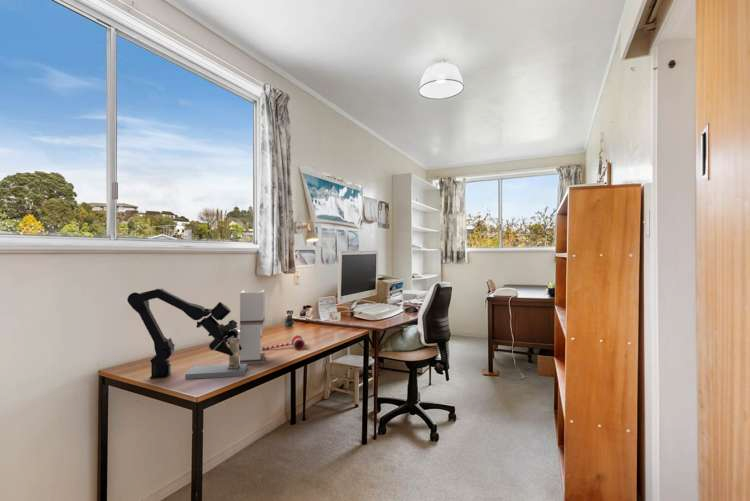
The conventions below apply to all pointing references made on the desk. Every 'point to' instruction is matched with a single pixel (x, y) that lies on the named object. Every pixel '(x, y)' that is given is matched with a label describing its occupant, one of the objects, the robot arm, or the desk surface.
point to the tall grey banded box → (251, 326)
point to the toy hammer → (295, 341)
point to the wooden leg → (234, 353)
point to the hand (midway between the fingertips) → (237, 352)
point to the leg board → (215, 371)
